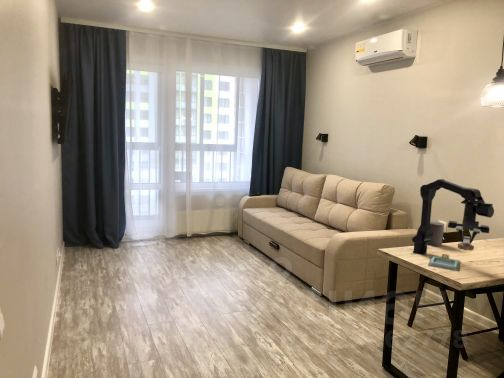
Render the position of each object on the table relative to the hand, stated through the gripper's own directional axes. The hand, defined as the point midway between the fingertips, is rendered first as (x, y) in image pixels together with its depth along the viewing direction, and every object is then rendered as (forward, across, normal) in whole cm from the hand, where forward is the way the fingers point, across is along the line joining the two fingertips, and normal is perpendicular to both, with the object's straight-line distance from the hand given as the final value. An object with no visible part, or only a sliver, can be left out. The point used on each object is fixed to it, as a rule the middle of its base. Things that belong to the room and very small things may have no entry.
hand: (466, 242), depth 212 cm
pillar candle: (+13, -18, +38) cm, 44 cm away
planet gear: (+3, 0, 0) cm, 3 cm away
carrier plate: (+13, -9, -1) cm, 16 cm away
